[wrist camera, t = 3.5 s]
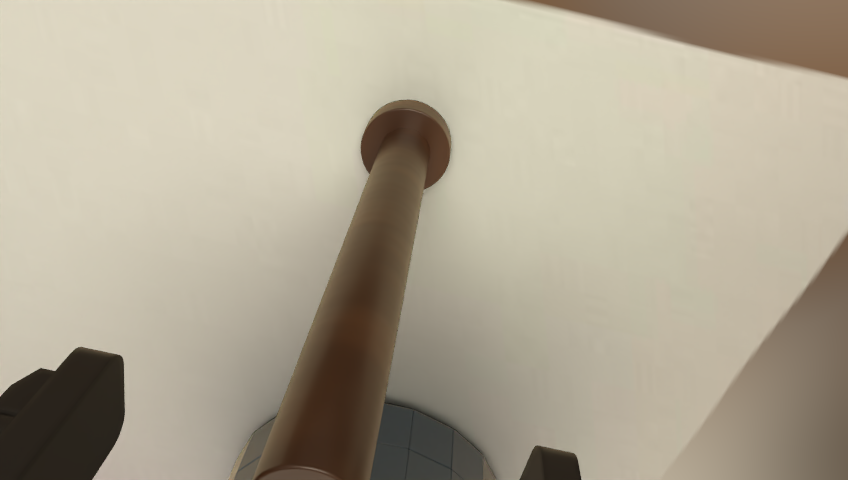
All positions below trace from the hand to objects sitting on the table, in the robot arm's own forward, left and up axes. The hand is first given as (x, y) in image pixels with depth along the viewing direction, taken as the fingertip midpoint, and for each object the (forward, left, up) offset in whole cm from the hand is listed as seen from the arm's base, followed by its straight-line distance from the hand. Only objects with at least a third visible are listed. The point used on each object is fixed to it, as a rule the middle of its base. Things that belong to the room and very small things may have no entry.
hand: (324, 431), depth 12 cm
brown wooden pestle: (0, 0, -16) cm, 16 cm away
